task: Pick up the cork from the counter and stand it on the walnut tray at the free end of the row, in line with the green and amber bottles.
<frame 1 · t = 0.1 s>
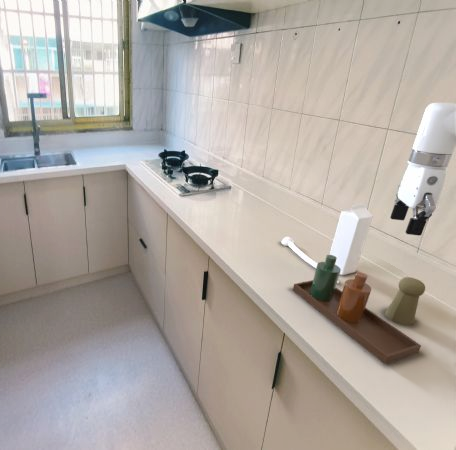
hand: (404, 226, 85), 21 cm above the worktop, tool pointing down, fingers open, 9 cm apart
green bottle: (320, 295, 92), point 1 cm above the worktop, touching tray
cork: (399, 318, 86), on the worktop
spatula: (309, 261, 111), on the worktop
amber bottle: (348, 315, 84), point 1 cm above the worktop, touching tray
tray: (347, 317, 85), on the worktop
milk: (340, 269, 107), on the worktop
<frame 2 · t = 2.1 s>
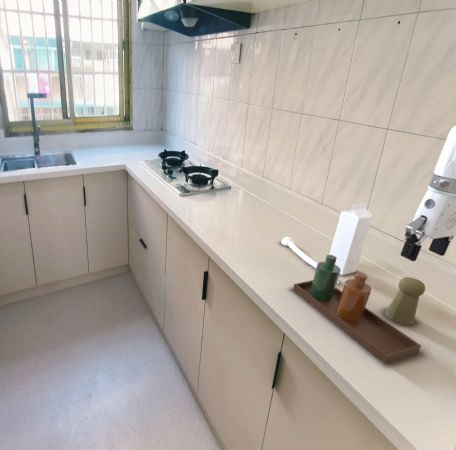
hand: (422, 255, 79), 18 cm above the worktop, tool pointing down, fingers open, 9 cm apart
nothing on the worktop moved.
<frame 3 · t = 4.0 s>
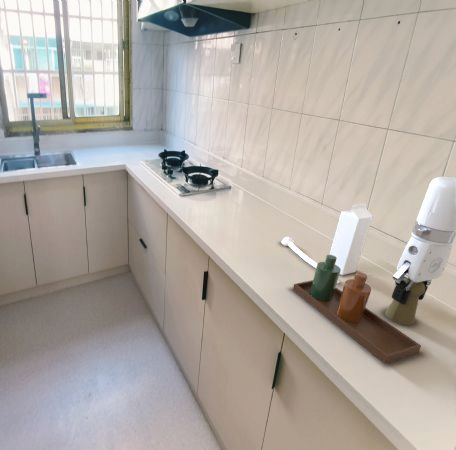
hand: (406, 298, 83), 6 cm above the worktop, tool pointing down, fingers closed on cork, 5 cm apart
cork: (399, 318, 86), on the worktop, touching gripper
everything else where it was.
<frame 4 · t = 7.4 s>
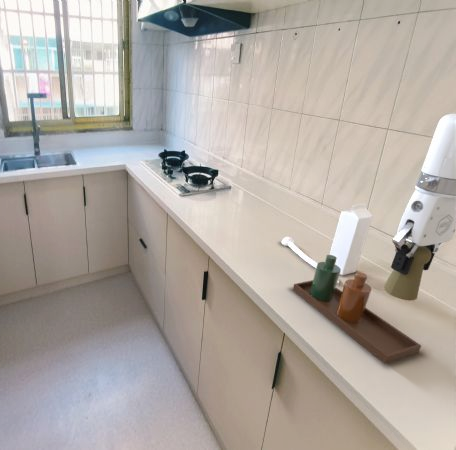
hand: (409, 268, 70), 19 cm above the worktop, tool pointing down, fingers closed on cork, 5 cm apart
cork: (399, 292, 72), point 13 cm above the worktop, touching gripper
everything else where it was.
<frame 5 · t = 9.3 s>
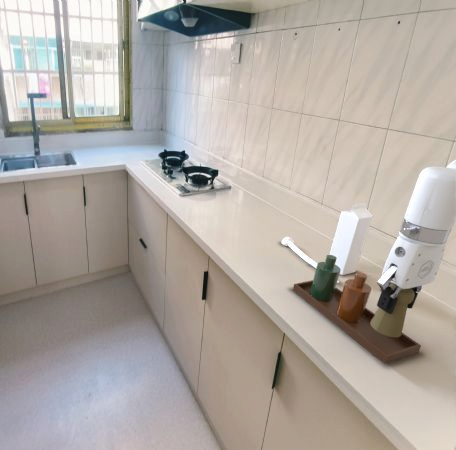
hand: (394, 306, 73), 10 cm above the worktop, tool pointing down, fingers closed on cork, 5 cm apart
cork: (385, 328, 75), point 4 cm above the worktop, touching gripper
everything else where it was.
when the fingers open (6 cm above the worktop, at t = 10.7 s): cork stays where it is, resting on tray.
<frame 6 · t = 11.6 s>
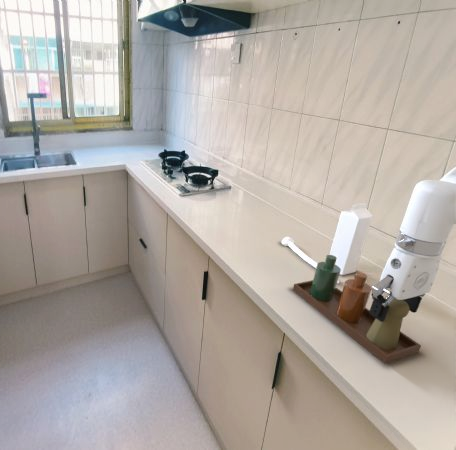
hand: (392, 313, 74), 8 cm above the worktop, tool pointing down, fingers open, 9 cm apart
cork: (381, 340, 77), resting on tray
everything else where it was.
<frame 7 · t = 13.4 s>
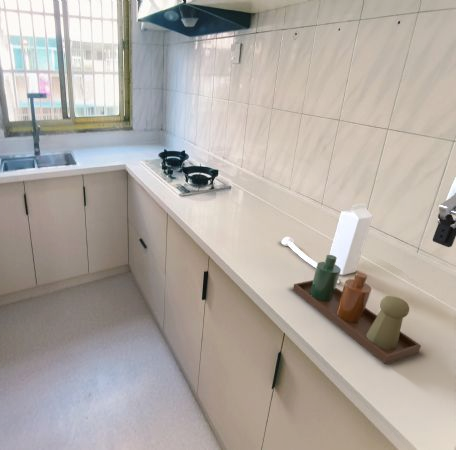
nothing on the worktop moved.
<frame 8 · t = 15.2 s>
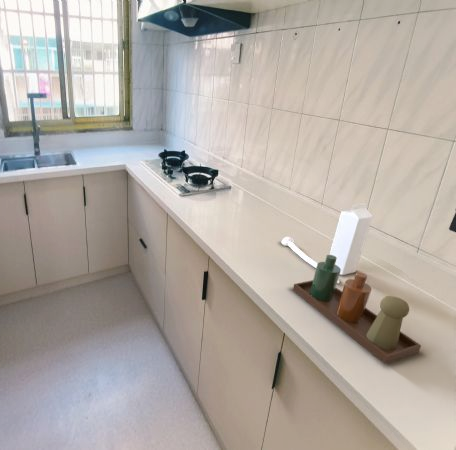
nothing on the worktop moved.
at the end: cork 0.1 cm from the target spot in the tray, point 0.4 cm above the tray's base; cork tilted 0°; amber bottle moved 0.0 cm from its start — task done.
